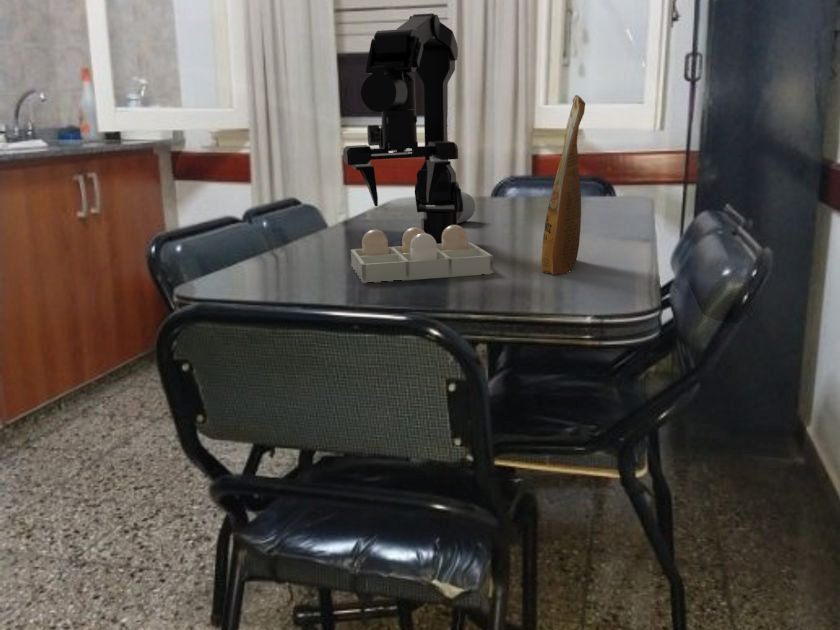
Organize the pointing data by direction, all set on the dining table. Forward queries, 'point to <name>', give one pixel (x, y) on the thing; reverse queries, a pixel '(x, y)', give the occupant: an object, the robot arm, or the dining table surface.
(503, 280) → the dining table surface
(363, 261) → the carton
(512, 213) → the dining table surface
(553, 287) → the dining table surface
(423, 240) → the egg
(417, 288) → the dining table surface
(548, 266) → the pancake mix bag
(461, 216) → the ceramic mug
